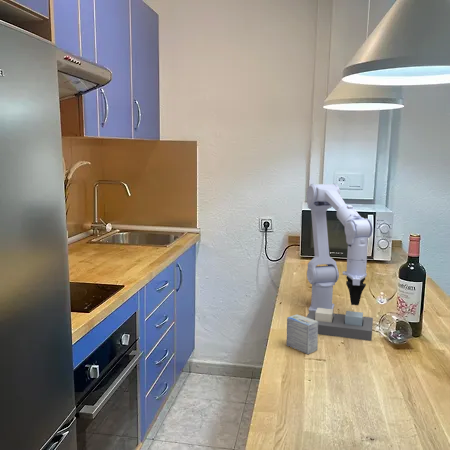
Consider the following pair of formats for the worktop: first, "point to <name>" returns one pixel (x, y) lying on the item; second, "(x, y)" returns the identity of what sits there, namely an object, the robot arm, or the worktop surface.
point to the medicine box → (302, 333)
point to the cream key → (324, 315)
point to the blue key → (354, 318)
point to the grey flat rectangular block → (344, 327)
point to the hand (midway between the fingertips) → (354, 302)
